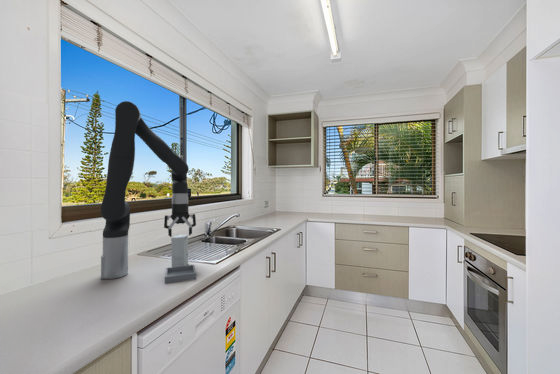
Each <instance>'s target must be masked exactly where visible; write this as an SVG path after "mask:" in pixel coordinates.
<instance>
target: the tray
mask: <svg viewBox="0 0 560 374" xmlns="http://www.w3.org/2000/svg"><path fill="white" fill-rule="evenodd" d="M195 267H196V266H195V264H187V265H186V266H178V267H172V266H170V267H169V266H168V267H165V270H164V271H165V272H164V284H171V283H175V282H176V283H177V282H183V281H192V280H197V271H196V268H195Z"/></svg>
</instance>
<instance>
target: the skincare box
mask: <svg viewBox="0 0 560 374" xmlns="http://www.w3.org/2000/svg"><path fill="white" fill-rule="evenodd" d="M188 237H189V234H179V235H178V234H177V235H175V236H173V237H170V238H171V242H170V243H171V246H170V247H171V267H178V266H187V265H189V247H188V246H189V244H188V242H189V240H188Z"/></svg>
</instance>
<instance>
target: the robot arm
mask: <svg viewBox="0 0 560 374" xmlns="http://www.w3.org/2000/svg"><path fill="white" fill-rule="evenodd" d="M114 111H115V113H114V114H115V115H114V116H115V123H114V125H115V127H114V134H113V139H112V142H111V147H110V151H109V157H108V165H107V173H106V184H105V185H106V186H105V190H104V194H103V198H102V202H101V205H100V211H99V212H100V215H101V217H102V218H103V219H104V220H105V225H104V228H103V230H102V255H101V256H100V280H102V279H105V280H111V279H118V278H123V277H125V276H127V275H128V274H129V230H130V227H131V226H130V225H131V224H130V223H131V222H130V221H131V207H130V205H129V203H128V202H127V201H126V191H127V187H128V185H129V182H130V179H132V174H133V171H134V166H135V160H136V159H135V158H136V157H135V156H136V140H135V137H136V136H137V137H139V138H140V139H141V141H142V142H143V143H144V144H145V145H146V146H147V147H148V148H149V150H151V151H152V152H153V153H154V155H155V156H156V157H157V158H159V160H160V161H161V162H162V163H165V164H166V165H167V166H168V167H169V168H170V169H171V170H170V171H171V172H170V173H171V181H172V182H171V183H172V186H171V187H172V189H171V193H172V194H171V215H168V214H166V215H164V220H163V221H164V225H163V227H164V229H167V231H168V232H167V233H168V236H169V237H170V238H173V237H172V234H173V233H172V230H173V229H172V227H174V225H175V224H176V225H179V224H183V225H184V224H186V225H187V226H188V236H191V235H192V234H193V228H194V227H196V226H197V221H196V220H197V218H196V214H195V213H192V214H190V212H189V201H190V200H189V190H188V189H189V187H188V185H189V184H188V182H187V174H188V173H189V169H190V168H189V165H188V164H187V163H186V161H185V160H184V159H182V158H181V157H180V156H179V155H178V154H177V153H176V152H175V151H174V150H173V149H172V148H171V146H169V145H168V144H167V142H165V140H164V139H162V137H160V136H159V135H158V134H156V133H155V132H154V131H153V130H152V129H151V128H150V127H149V126H148V125H147V123H146V122H145V121H144V119H143V117H142V116H141V111H140V109H139V107H138V106H137V105H136V104H135V103H133V102H131V101H127V100H125V101H121V102H120V103H118V104H117V105H116V107H115V110H114ZM189 218H191V219H192V223H191V222H190V221H189ZM170 219H171V220H172V222H171V223H170V224H169V225H168V221H169V220H170Z"/></svg>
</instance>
